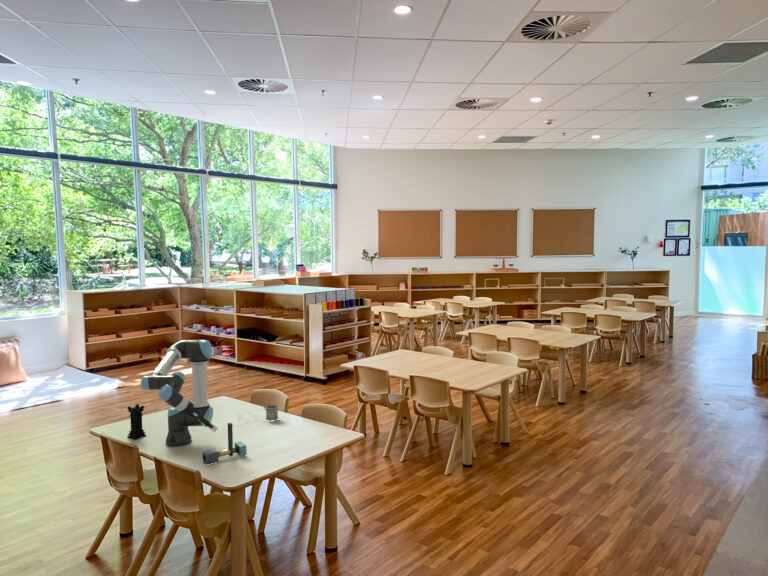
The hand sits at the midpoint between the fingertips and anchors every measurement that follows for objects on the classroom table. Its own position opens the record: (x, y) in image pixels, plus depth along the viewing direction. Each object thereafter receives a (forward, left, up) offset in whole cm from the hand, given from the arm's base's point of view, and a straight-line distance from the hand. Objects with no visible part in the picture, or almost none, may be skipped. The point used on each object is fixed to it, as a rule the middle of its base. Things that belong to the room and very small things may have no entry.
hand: (211, 427), depth 286 cm
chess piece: (-71, -24, -20) cm, 78 cm away
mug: (-48, +59, -20) cm, 79 cm away
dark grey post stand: (0, +9, -19) cm, 21 cm away
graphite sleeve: (0, -1, -20) cm, 20 cm away
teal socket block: (0, +17, -20) cm, 26 cm away
